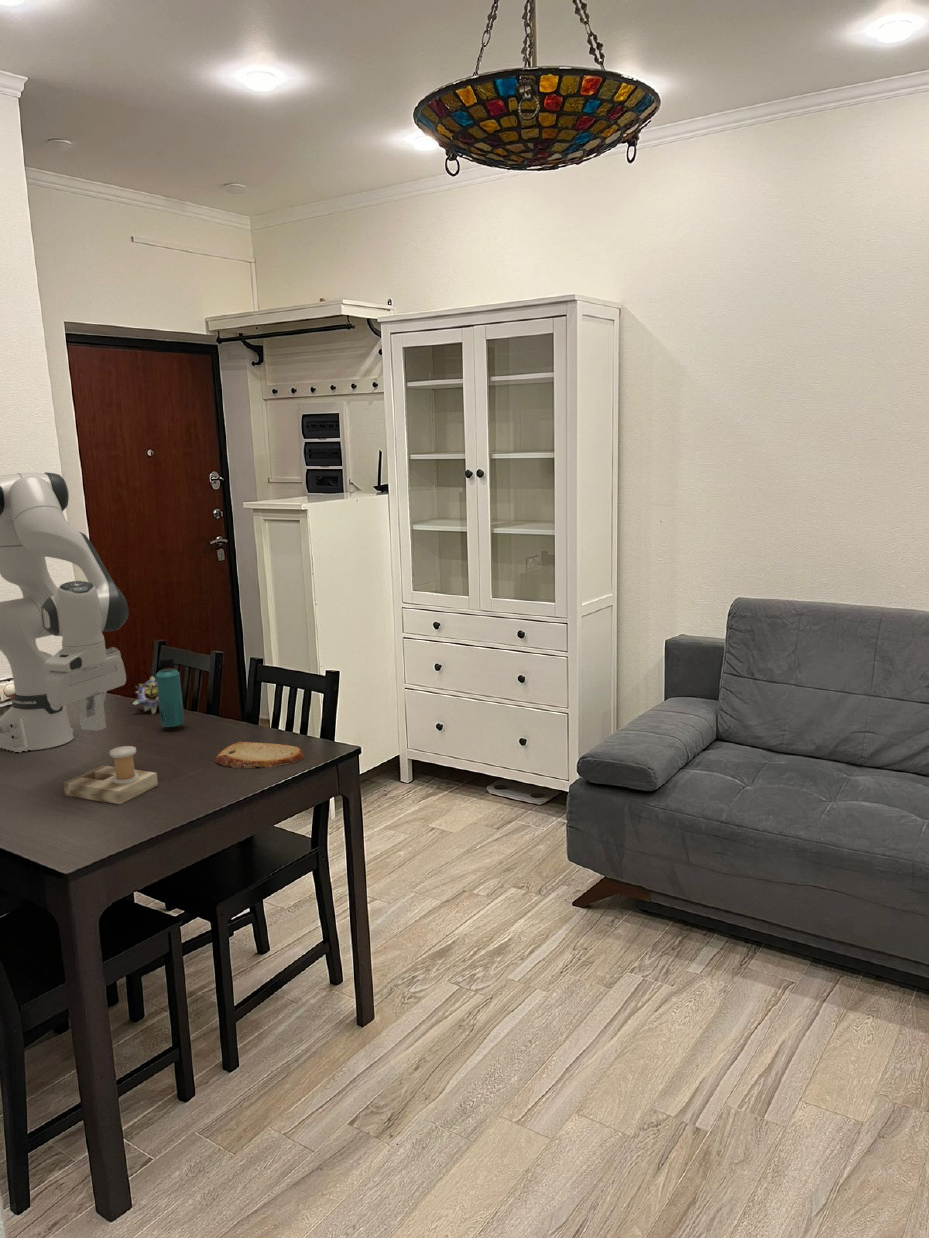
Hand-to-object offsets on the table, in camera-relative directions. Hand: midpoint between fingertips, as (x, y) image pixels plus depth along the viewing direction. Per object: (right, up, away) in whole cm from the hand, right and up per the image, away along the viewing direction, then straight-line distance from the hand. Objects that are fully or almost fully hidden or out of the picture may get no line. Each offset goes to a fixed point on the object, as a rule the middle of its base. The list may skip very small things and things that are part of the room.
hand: (91, 714), depth 212 cm
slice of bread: (+33, -13, +20) cm, 41 cm away
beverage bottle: (+4, -9, +47) cm, 48 cm away
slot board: (+4, -17, +2) cm, 18 cm away
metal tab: (0, -3, +1) cm, 3 cm away
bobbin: (+8, -15, 0) cm, 17 cm away
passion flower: (-7, -5, +67) cm, 67 cm away
